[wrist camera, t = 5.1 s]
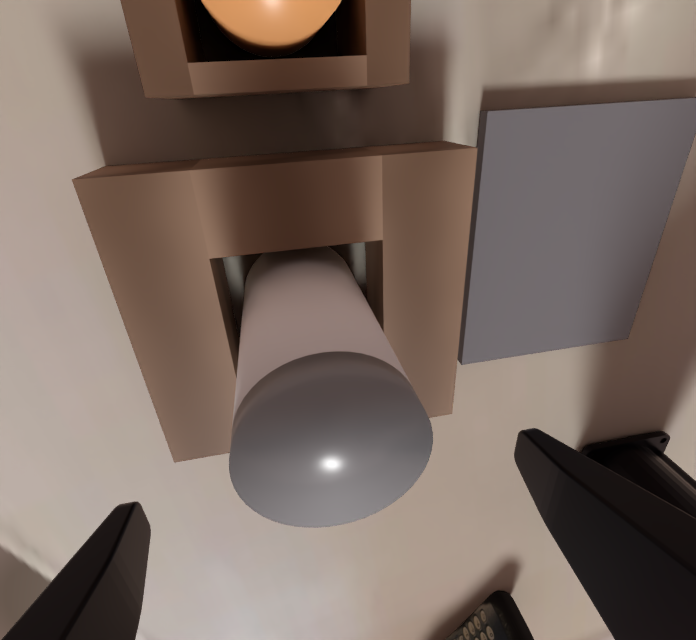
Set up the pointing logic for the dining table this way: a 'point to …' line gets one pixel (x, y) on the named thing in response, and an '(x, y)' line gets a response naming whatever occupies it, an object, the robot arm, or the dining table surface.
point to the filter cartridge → (320, 398)
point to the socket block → (277, 219)
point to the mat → (567, 222)
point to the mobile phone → (494, 621)
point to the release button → (270, 23)
